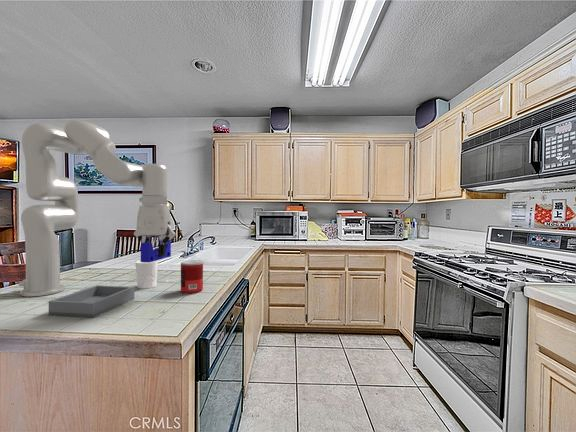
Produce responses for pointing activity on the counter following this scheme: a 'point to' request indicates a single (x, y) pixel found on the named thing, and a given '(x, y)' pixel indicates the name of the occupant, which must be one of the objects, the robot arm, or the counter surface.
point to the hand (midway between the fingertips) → (154, 255)
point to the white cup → (146, 274)
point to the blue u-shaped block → (153, 252)
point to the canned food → (191, 276)
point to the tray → (91, 301)
